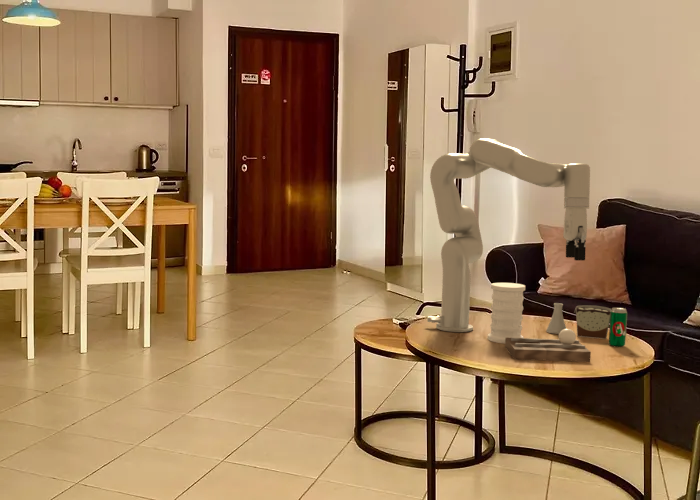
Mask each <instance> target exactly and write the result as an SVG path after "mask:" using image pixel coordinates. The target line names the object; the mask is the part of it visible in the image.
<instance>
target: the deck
mask: <svg viewBox="0 0 700 500" xmlns="http://www.w3.org/2000/svg"><path fill="white" fill-rule="evenodd" d="M504 348H505V349H506V351H507V352H508V353H509V354H510V356H511V357H512V358H513V360H522V361H523V360H525V361H526V360H527V361H550V362H551V361H555V362H556V361H557V362H582V363H590V362H591V353H592V352H591V350H589V349H588V348H587V347H586V345H584V344H582V343H581V342H580V340H578V339H575V342H574V343H573V344H571V345H564V344H562V343H561V342H560V341H559V338H558V339H556V338H555V339H554V338H530V337H529V338H528V337H526V338H525V337H524V338H505V343H504Z"/></svg>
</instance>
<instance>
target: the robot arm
mask: <svg viewBox="0 0 700 500" xmlns="http://www.w3.org/2000/svg"><path fill="white" fill-rule="evenodd" d="M490 168H491V169H493V170H497V171H500V172H503V173H505V174H507V175H510V176H512V177H514V178H516V179H519V180H522V181H524V182H527V183H530V184H533V185H536V186H538V187H542V188H562V187H563V188H564V189H563V191H564V192H563V193H564V194H563V197H564V199H563V209H565V211H564V220H563V234H562V235H563V238H564V239H565V240H566V241H565V257H566V258H569V259H570V258H573V260H574V261H585V260H586V247H587V245H586V242H587V240H586V239H587V235H588V218H587V217H588V213H587V209H590V191H591V190H590V187H591V186H590V185H591V182H590V181H591V167H590V165H589V164H587V163H568V164H564V163H553V162H546V161H542V160H539V159H536V158H533V157H531V156H528V155H525V154H524V153H523V152H522V150H521V149H519V148H516V147H512V146H510V145H508V144H503V143H502V141H499V140H497V139H494V138H486V137H484V138H482V137H481V138H478V139H476V140H474V141H473V142H472V143H471V145H470V147H469V151H468V152H466V153H459V152H458V153H457V152H456V153H454V152H451V153H450V152H449V153H445V154H443V155H441V156H439V157H438V158H437V159H436V160H435V161H434V163H433V164H432V166H431V169H430V174H429V176H430V185H431V188H432V193H433V199H434V203H435V209H436V214H437V219H438V224H439V227H440V229H441V230H442V231H443V233H445V234H448V235H449V234H450V235H451V234H452V235H453V234H454V235H455V236H454V237H451V238H449V239H447V240H446V241H445V242H444V243H443V245H442V247H441V251H440V252H441V253H440V257H441V264H442V280H441V281H442V282H441V283H442V285H441V286H442V288H441V289H442V290H441V309H440V310H441V313H439V315H437V316H431V315H430V316H429V315H428V316H427V318H426V319H427V322H429V323H430V322H431V323H433V324H434V323H436V325H435V327H436V329H438V330H439V331H440V330H441V331H443V332H449V333H450V332H451V333H468V332H473V330H474V326H473V325H472V324H469V323H470V305H471V304H470V301H471V300H470V299H471V277H472V276H471V270H470V264H472V263H475V262H477V261H479V260H480V259H481V257H482V256H483V252H484V245H483V240H482V235H481V234H482V233H481V230H480V225H479V220H478V217H477V215H476V213H475V211H474V210H473V209H472V208H471V207H469V206H467V205H462V202H461V197H460V193H459V189H458V188H457V185H456V184H455V179H459V180H461V179H462V180H463V179H465V180H466V179H470V178H472V177H475V176H477V175H479V174H481V173H483V172H485V171H487V170H488V169H490Z"/></svg>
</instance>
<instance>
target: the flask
mask: <svg viewBox="0 0 700 500" xmlns="http://www.w3.org/2000/svg"><path fill="white" fill-rule="evenodd" d="M563 306H564V304H563V303H559V302H554V303H553V307H554V308H553V312H552V316H551V319H550V322H549V323H548V325H547V328H546V331H545V332H546V333H549V334H554V335H555V334H556V335H559V333H560V332H561V331H562V330H563V329H567V326H566V323H565V318H564V316H563Z"/></svg>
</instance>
